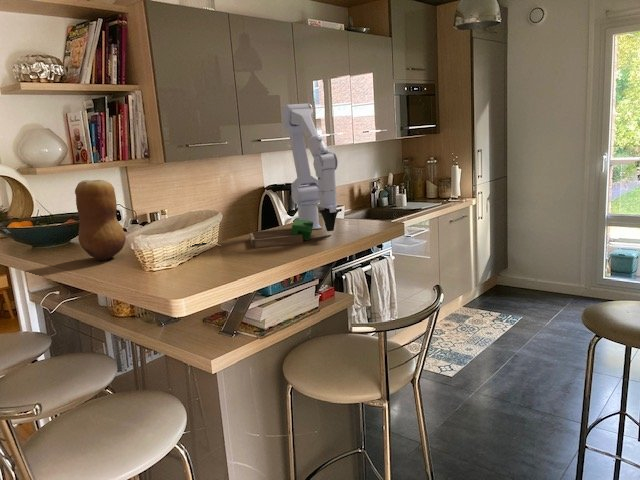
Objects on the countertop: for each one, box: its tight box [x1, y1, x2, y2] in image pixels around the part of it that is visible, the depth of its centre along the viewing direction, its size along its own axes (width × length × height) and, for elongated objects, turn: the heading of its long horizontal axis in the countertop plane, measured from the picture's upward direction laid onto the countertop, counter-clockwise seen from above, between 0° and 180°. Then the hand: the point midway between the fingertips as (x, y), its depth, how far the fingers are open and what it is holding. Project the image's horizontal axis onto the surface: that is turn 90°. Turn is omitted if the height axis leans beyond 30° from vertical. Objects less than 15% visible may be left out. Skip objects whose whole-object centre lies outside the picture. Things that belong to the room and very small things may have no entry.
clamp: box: [291, 218, 313, 241], centre depth 171 cm, size 12×6×9 cm, turn 170°
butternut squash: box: [74, 179, 126, 261], centre depth 161 cm, size 14×13×25 cm
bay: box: [249, 227, 304, 249], centre depth 170 cm, size 14×16×2 cm
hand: (330, 230), depth 173 cm, fingers closed
